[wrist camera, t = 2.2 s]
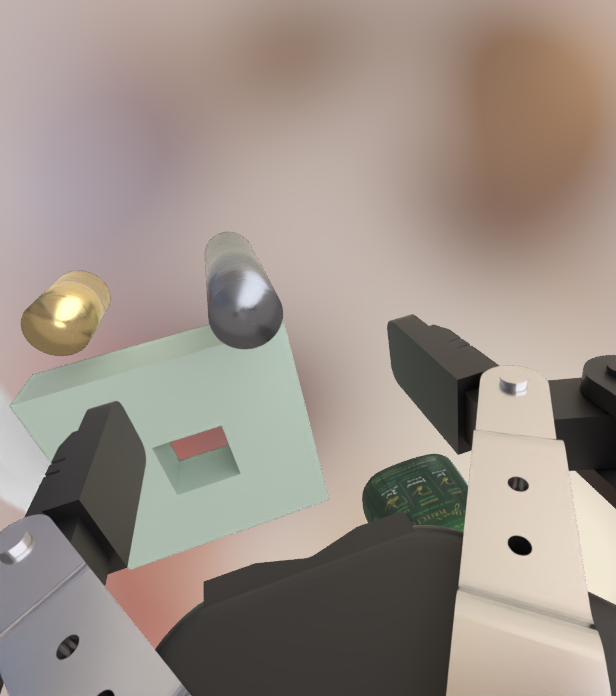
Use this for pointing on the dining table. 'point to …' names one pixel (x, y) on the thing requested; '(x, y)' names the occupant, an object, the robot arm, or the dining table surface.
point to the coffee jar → (419, 492)
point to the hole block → (192, 433)
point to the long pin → (239, 294)
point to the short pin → (66, 314)
